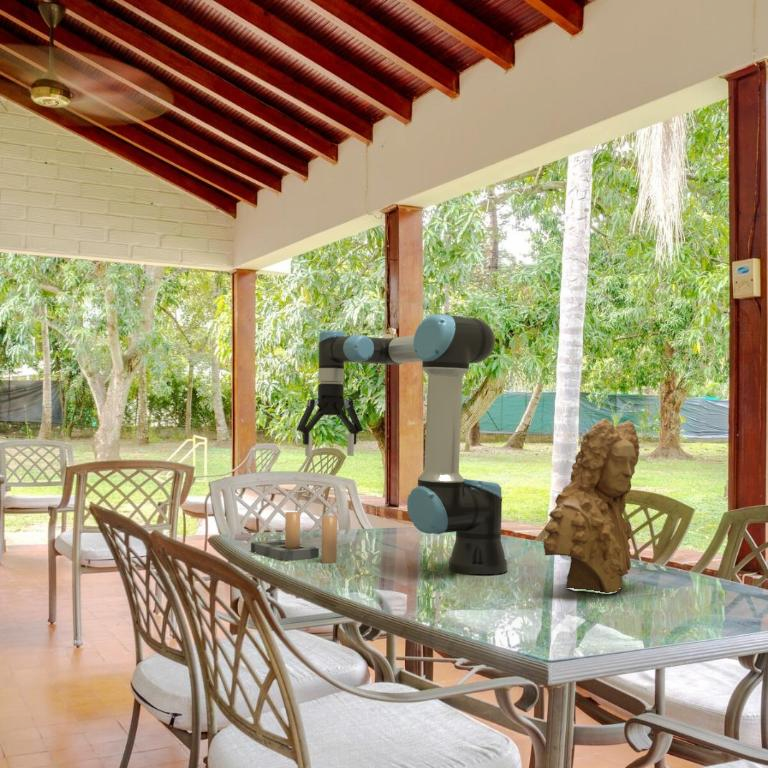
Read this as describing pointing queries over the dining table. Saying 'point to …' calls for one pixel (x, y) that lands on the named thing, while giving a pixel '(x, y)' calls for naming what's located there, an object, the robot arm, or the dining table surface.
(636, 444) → the bust
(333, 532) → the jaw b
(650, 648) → the dining table surface
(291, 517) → the tan wooden cylinder
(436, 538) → the dining table surface
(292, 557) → the housing
